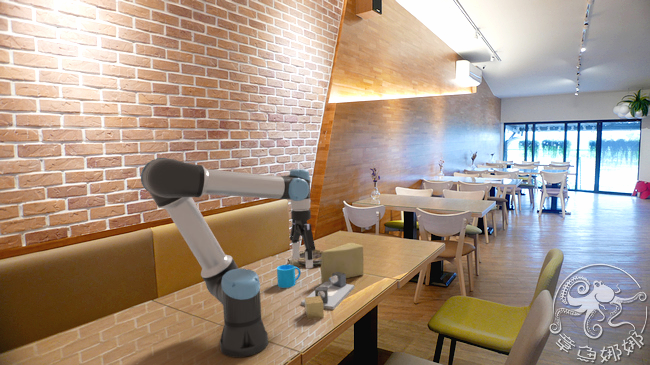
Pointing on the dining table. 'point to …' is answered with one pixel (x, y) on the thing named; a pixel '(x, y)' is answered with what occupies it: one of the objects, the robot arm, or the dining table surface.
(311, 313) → the block
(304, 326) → the dining table surface
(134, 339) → the dining table surface
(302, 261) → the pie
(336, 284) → the shaft right
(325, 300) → the shaft left
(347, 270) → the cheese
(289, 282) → the mug
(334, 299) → the grey base plate
